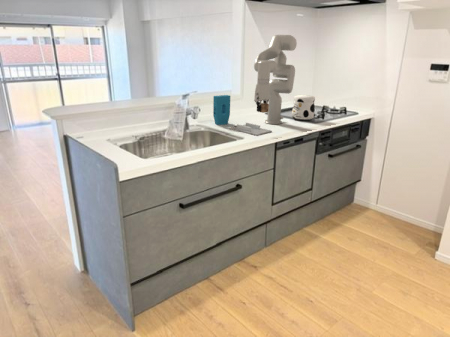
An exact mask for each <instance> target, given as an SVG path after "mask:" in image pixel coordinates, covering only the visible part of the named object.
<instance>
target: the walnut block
mask: <svg viewBox="0 0 450 337" xmlns="http://www.w3.org/2000/svg"><path fill="white" fill-rule="evenodd" d="M268 109H269V104H266V103H263V102H261V112H259V111H257V110H256V112H258V113H263V114H265V113H268Z"/></svg>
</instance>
